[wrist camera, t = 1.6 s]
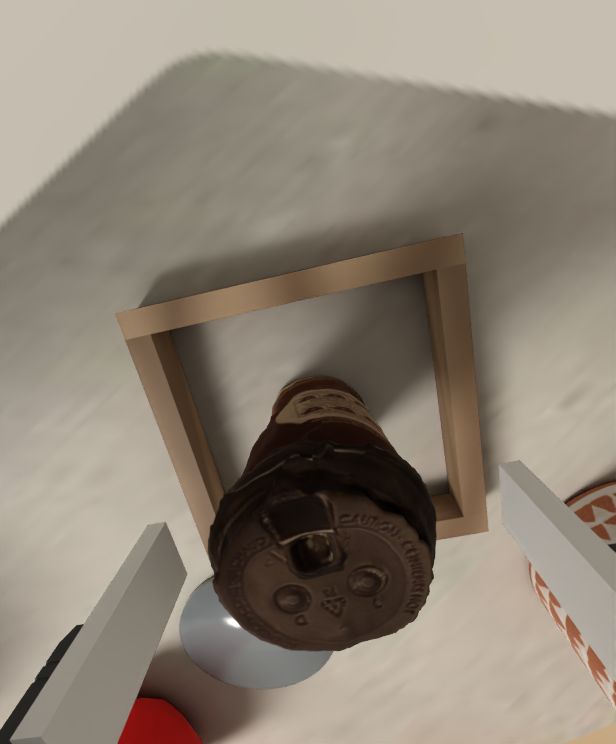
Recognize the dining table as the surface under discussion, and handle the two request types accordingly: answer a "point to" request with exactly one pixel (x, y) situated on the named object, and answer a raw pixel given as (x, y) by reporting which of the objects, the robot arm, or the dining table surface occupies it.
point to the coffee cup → (323, 527)
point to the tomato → (157, 724)
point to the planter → (612, 524)
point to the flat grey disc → (239, 647)
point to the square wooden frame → (432, 258)
